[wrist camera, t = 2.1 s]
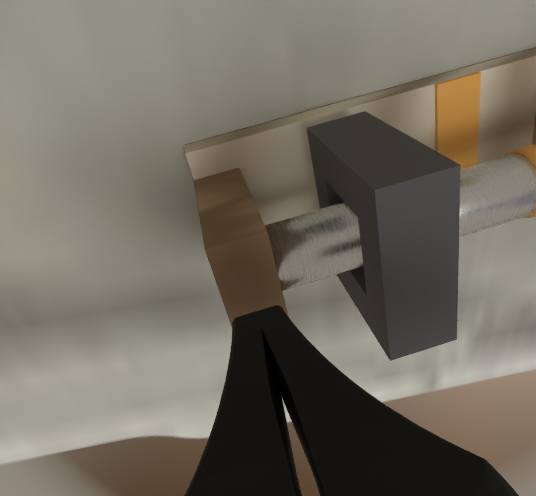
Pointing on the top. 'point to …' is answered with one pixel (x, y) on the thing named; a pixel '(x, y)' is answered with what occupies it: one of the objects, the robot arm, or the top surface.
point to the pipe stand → (340, 215)
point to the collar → (394, 228)
